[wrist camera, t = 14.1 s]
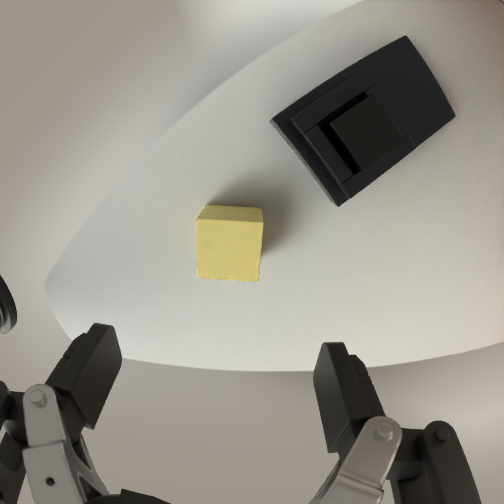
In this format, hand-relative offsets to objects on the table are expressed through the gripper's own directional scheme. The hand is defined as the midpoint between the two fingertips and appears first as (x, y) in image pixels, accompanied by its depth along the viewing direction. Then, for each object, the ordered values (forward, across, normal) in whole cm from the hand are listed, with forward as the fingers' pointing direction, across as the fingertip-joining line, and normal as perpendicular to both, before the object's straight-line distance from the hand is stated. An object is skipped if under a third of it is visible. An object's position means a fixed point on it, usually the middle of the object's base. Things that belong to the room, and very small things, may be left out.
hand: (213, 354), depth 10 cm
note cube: (+14, 0, 0) cm, 14 cm away
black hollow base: (+14, -10, -11) cm, 20 cm away
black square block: (+10, -8, -9) cm, 16 cm away
